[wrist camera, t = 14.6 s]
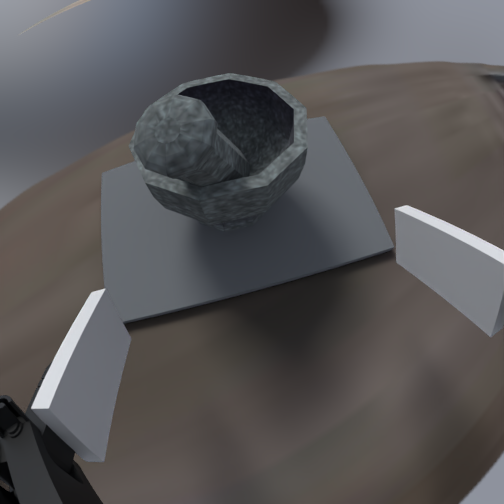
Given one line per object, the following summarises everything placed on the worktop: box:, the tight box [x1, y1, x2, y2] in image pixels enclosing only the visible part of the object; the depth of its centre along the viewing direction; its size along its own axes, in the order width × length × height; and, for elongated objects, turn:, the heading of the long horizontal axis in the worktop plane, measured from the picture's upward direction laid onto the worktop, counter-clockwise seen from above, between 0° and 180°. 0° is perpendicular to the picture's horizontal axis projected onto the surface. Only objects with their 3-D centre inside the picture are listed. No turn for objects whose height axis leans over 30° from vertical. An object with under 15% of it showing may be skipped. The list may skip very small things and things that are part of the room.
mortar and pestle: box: [129, 73, 308, 232], centre depth 15 cm, size 11×9×12 cm
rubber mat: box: [101, 117, 394, 324], centre depth 21 cm, size 20×13×1 cm, turn 105°
